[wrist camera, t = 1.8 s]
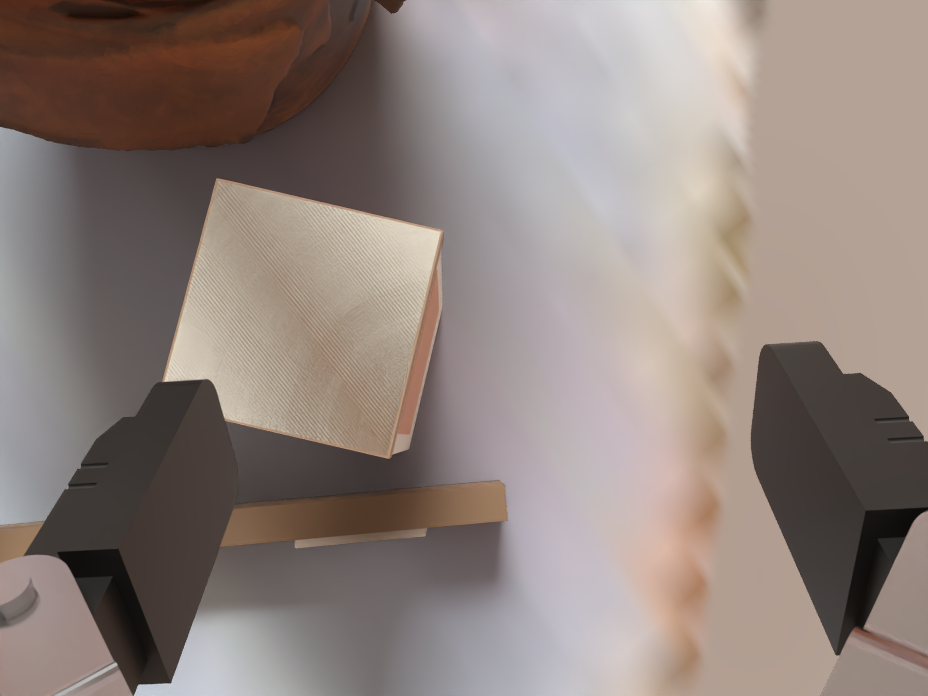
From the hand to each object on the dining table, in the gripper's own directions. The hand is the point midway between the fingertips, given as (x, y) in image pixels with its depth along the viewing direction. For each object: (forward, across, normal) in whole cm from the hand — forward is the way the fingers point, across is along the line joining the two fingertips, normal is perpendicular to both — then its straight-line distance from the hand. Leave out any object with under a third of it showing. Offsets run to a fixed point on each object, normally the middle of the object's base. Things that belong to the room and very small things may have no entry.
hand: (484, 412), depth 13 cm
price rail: (+13, +12, +14) cm, 22 cm away
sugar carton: (+17, +5, +9) cm, 20 cm away
